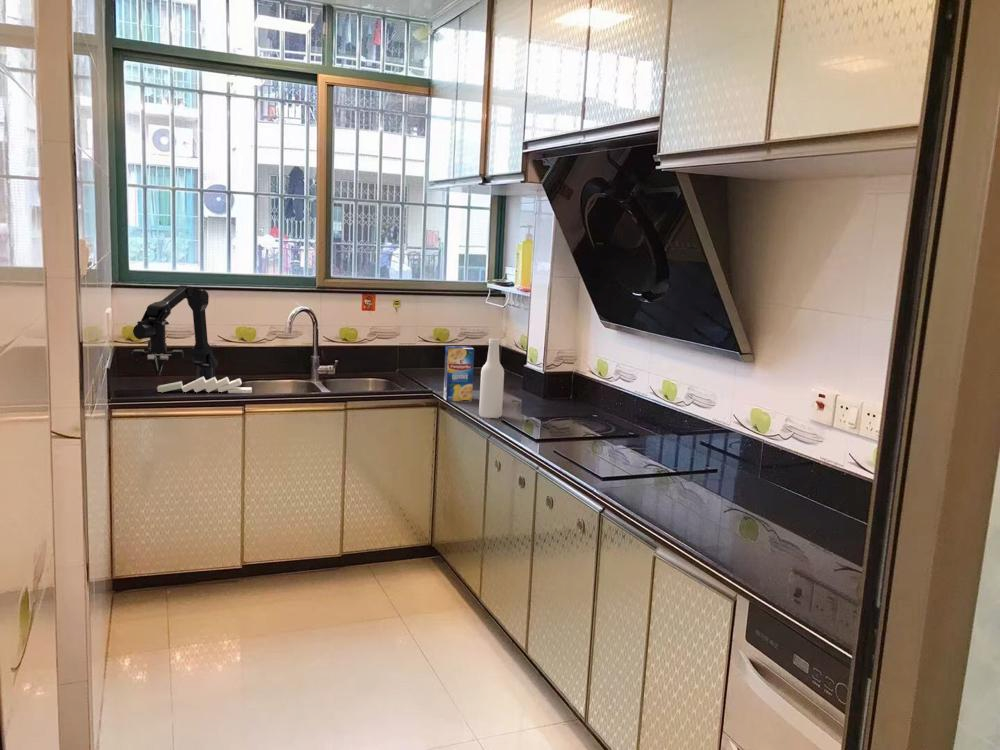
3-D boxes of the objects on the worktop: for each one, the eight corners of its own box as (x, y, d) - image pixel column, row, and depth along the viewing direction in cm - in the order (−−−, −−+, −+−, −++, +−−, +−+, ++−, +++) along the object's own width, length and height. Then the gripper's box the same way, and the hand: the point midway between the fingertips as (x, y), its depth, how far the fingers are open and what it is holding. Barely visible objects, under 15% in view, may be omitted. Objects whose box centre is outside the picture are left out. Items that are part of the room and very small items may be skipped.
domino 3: (193, 388, 325) (214, 378, 326) (194, 386, 330) (215, 376, 331) (195, 392, 325) (216, 383, 327) (196, 390, 330) (217, 380, 332)
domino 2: (181, 388, 324) (202, 378, 325) (182, 386, 328) (203, 376, 330) (184, 392, 324) (205, 382, 326) (185, 390, 329) (206, 380, 331)
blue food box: (472, 401, 339) (474, 349, 335) (446, 401, 336) (448, 348, 332) (468, 397, 345) (471, 346, 341) (443, 397, 342) (445, 346, 339)
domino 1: (157, 388, 321) (180, 383, 323) (158, 385, 326) (181, 381, 328) (158, 392, 322) (181, 388, 324) (159, 390, 326) (183, 385, 328)
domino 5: (217, 388, 327) (238, 380, 328) (218, 386, 332) (239, 378, 333) (219, 392, 328) (240, 384, 329) (220, 390, 332) (241, 382, 334)
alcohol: (480, 418, 307) (484, 339, 302) (477, 413, 315) (481, 336, 310) (503, 419, 308) (507, 340, 303) (499, 414, 317) (504, 337, 312)
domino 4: (205, 388, 326) (226, 378, 327) (206, 386, 331) (227, 376, 332) (207, 392, 327) (228, 383, 328) (208, 390, 331) (229, 381, 333)
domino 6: (228, 389, 328) (251, 389, 330) (228, 387, 333) (251, 387, 335) (228, 394, 329) (251, 394, 331) (229, 392, 333) (251, 392, 336)
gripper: (184, 334, 330) (185, 372, 333) (135, 333, 325) (135, 372, 328) (182, 338, 320) (182, 377, 322) (130, 337, 315) (131, 376, 317)
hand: (158, 375), depth 323 cm, fingers closed
